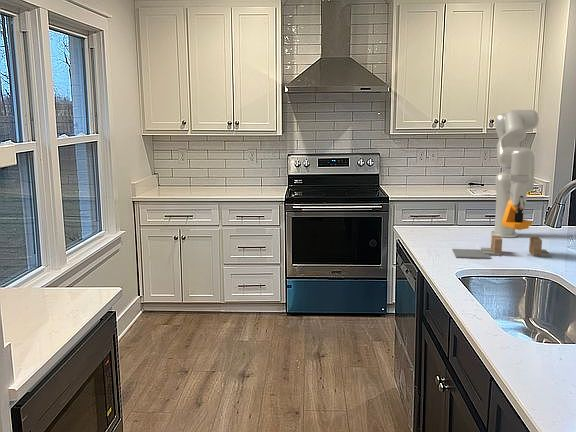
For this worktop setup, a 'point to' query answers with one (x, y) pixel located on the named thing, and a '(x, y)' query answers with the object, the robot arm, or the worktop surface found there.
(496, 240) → the vise jaws
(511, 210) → the bracket
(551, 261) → the worktop surface
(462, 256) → the mat
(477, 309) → the worktop surface
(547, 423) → the worktop surface
